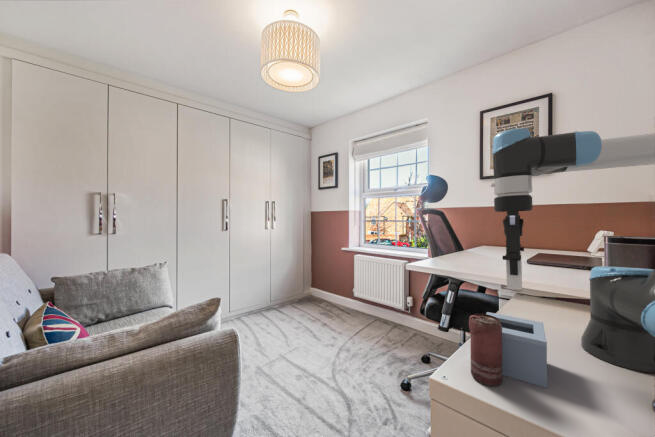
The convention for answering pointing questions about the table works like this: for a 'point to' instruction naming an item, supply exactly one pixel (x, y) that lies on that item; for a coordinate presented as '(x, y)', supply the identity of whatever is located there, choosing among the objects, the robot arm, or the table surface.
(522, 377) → the coin box
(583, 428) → the table surface
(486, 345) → the can
